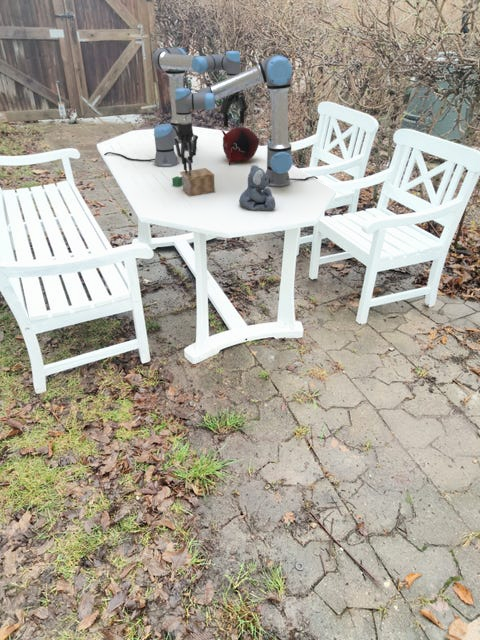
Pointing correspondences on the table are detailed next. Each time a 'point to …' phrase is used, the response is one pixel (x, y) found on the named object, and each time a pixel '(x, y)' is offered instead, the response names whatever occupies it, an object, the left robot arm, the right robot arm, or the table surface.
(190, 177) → the lid
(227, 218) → the table surface
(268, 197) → the koala plush
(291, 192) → the table surface
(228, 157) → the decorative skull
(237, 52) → the left robot arm
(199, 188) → the chest
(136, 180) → the table surface
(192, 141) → the rock
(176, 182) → the block
